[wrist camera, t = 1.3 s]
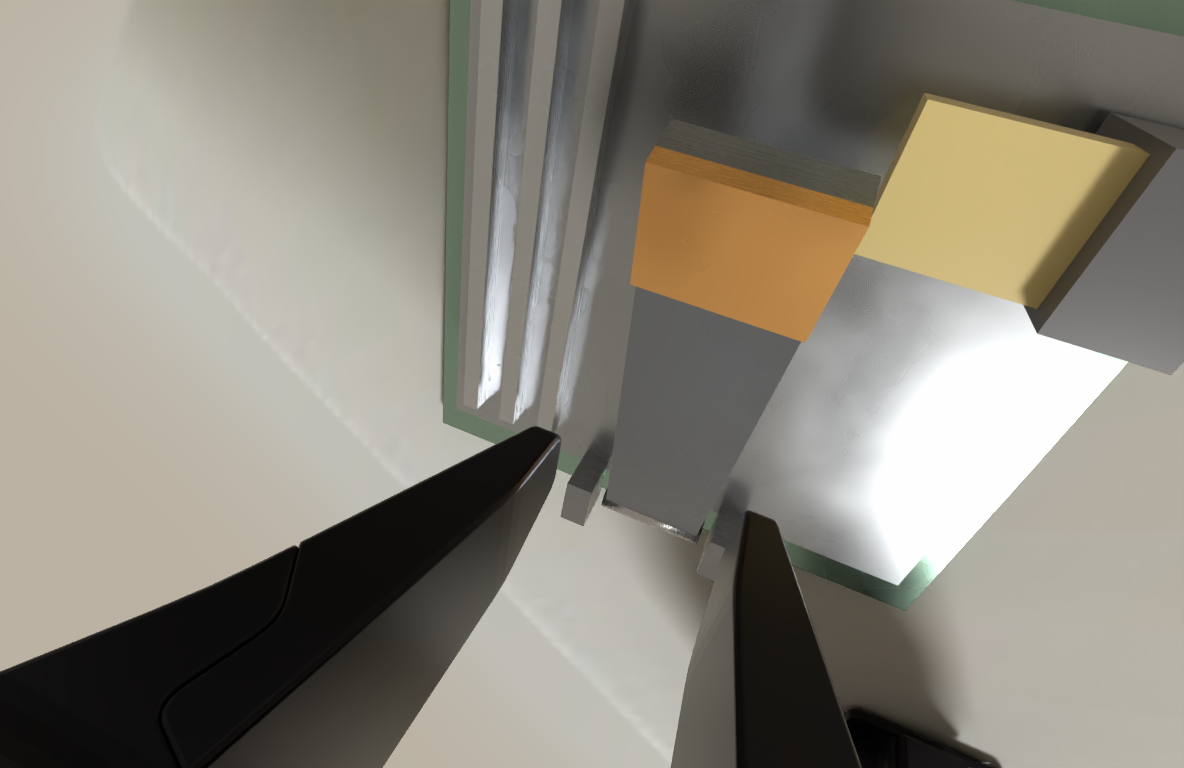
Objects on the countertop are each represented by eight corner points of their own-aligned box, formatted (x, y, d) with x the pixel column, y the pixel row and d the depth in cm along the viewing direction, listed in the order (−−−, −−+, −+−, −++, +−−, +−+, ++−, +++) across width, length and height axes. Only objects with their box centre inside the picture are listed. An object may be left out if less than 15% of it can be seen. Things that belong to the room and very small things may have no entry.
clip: (1113, 300, 12) (1170, 375, 9) (851, 224, 12) (848, 275, 10) (1241, 143, 10) (1350, 190, 8) (923, 67, 11) (938, 90, 9)
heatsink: (904, 597, 22) (911, 715, 18) (450, 414, 25) (384, 483, 22) (1441, -20, 10) (1743, -20, 7) (467, -197, 14) (332, -256, 10)
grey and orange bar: (702, 523, 19) (690, 556, 19) (611, 486, 20) (597, 517, 19) (889, 173, 8) (876, 229, 7) (667, 113, 9) (638, 159, 8)
